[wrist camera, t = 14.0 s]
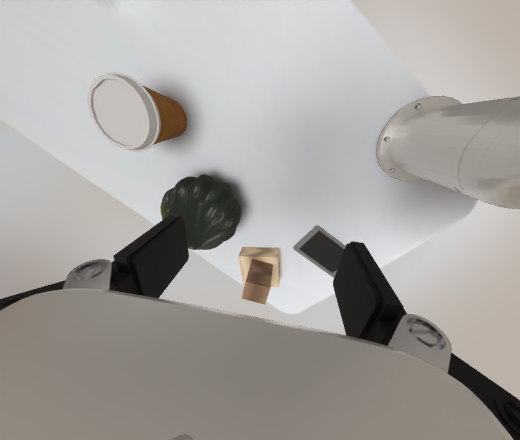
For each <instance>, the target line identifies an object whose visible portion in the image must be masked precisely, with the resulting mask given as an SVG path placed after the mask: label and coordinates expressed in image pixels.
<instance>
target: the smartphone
mask: <svg viewBox="0 0 520 440" xmlns="http://www.w3.org/2000/svg"><path fill="white" fill-rule="evenodd" d="M345 247H346V246H344V245H343V244H342V243H340V242H339V241H338V240H337V239H335V238H334V237H333V236H331V235H330V234H329V233H327V232H326V231H325V230H323V229H322V228H321V227H319V226H315V227H314V228H312V229H311V231H310V232H309V233H308V234H307V235H306V236H305V237H304V238H303V239H301V240H300V241H299V242H298V243H297V244H296V245H295V246H294V250H296V251H297V252H298V253H300V254H301V255H302V256H304V257H305V258H307V259H308V260H310V261H311V262H312V263H314V264H315V265H317V266H318V267H320V268H321V269H322V270H324V271H325V272H327V273H328V274H329V275H331V276H332V277H335V275H336V272H337V269H338V266H339V264H340V261H341V258H342V255H343V252H344V250H345Z"/></svg>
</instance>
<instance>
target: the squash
mask: <svg viewBox="0 0 520 440" xmlns="http://www.w3.org/2000/svg"><path fill="white" fill-rule="evenodd" d="M161 215H162V220H164V219H165V218H166V217H168V216H169V215H176V216H181V217H182V219H184V221H185V228H186V237H187V245H188V248H189V249H193V250H196V249H198V250H200V249H202V250H208V249H212V248H215V247H217V246H219V245H220V244H222V243H223V242H224V241H226V240H228V239H230V238H231V237H232V236H233V235H234V234H235V231H236V227H237V225H238V223H239V221H240V218H241V208H240V205H239V203H238V202H237V201H236V200H235V199H234V198H233V193H232V189H231V187H230V186H229V185H228V184H227V183H220V182H219V183H215V181H214V180H213V179H212V177H210V176H208V175H201V176H199V177H198V178H195V177H186V178H184V179H182V180H180V181H179V182H178V183H177V184H176V186H175V187H174V188H172V189H170V190H168V191H167V192H166V193H165V195H164V197H163V199H162V203H161Z"/></svg>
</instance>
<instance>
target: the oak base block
mask: <svg viewBox="0 0 520 440" xmlns="http://www.w3.org/2000/svg"><path fill="white" fill-rule="evenodd" d="M252 259H254V260H258V261H262V262H266V263H270V264H273V269H272V278H271V287H279V280H280V271H279V248H253V247H242V250H241V252H240V255H239V261H240V267H241V273H242V279H243V285H245V282H246V279H247V275H248V272H249V268H250V264H251V261H252Z"/></svg>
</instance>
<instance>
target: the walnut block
mask: <svg viewBox="0 0 520 440" xmlns="http://www.w3.org/2000/svg"><path fill="white" fill-rule="evenodd" d="M272 269H273V264H270V263H266V262H262V261H258V260H254V259H252V261H251V264H250V268H249V272H248V275H247V279H246V282H245V287H244V291H243V296H242V298H243V299H246V300H250V301H254V302H258V303H262V304H265V303H266V300H267V297H268V293H269V290H270V286H271V278H272Z"/></svg>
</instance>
